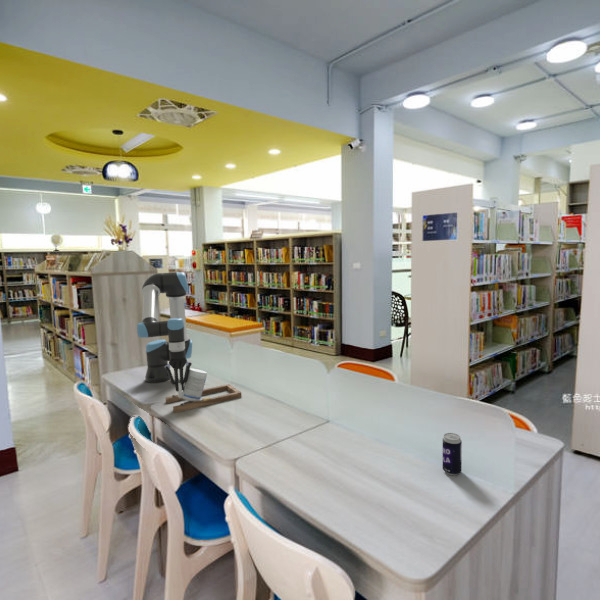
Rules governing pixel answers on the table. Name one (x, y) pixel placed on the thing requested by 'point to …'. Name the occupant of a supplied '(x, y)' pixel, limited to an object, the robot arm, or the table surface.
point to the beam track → (206, 401)
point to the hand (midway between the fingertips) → (180, 397)
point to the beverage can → (452, 453)
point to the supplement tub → (194, 385)
